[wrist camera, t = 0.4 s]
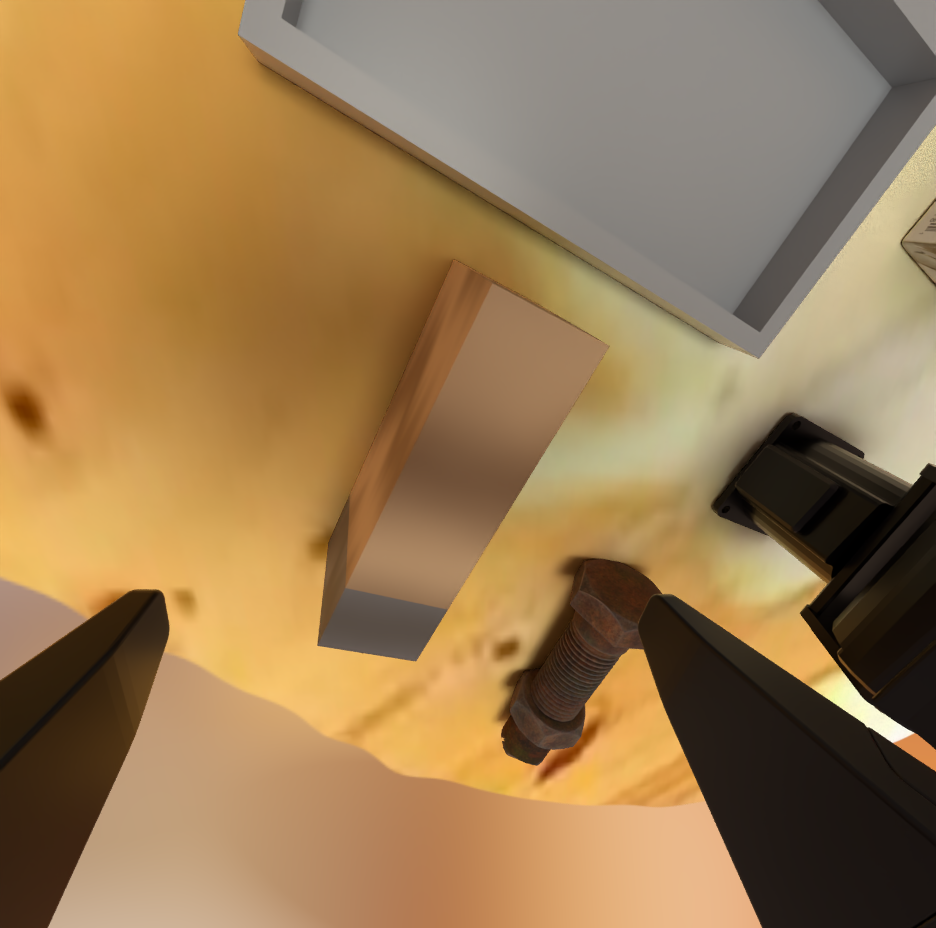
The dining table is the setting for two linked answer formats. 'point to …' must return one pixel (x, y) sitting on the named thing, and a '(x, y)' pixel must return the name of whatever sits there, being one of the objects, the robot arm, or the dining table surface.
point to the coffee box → (924, 242)
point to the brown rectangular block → (448, 461)
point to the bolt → (577, 660)
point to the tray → (641, 125)
